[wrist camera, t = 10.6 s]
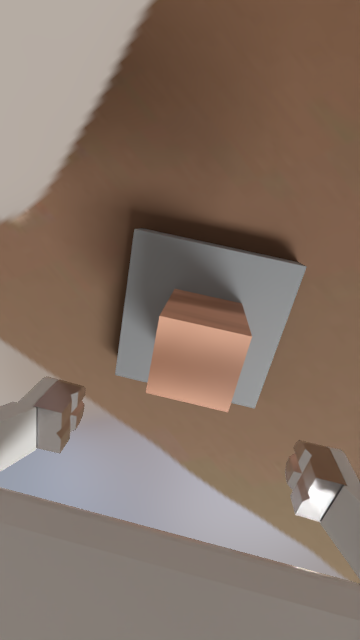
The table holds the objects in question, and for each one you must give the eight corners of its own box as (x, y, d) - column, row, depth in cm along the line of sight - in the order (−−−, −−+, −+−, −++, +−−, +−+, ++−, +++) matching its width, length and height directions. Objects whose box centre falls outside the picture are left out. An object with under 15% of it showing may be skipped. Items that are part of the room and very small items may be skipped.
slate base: (141, 228, 21) (134, 229, 19) (298, 262, 21) (306, 266, 19) (122, 363, 26) (115, 374, 24) (251, 394, 25) (254, 408, 23)
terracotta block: (174, 288, 20) (159, 315, 15) (241, 303, 20) (252, 336, 15) (163, 348, 22) (145, 392, 17) (224, 362, 22) (228, 412, 16)
